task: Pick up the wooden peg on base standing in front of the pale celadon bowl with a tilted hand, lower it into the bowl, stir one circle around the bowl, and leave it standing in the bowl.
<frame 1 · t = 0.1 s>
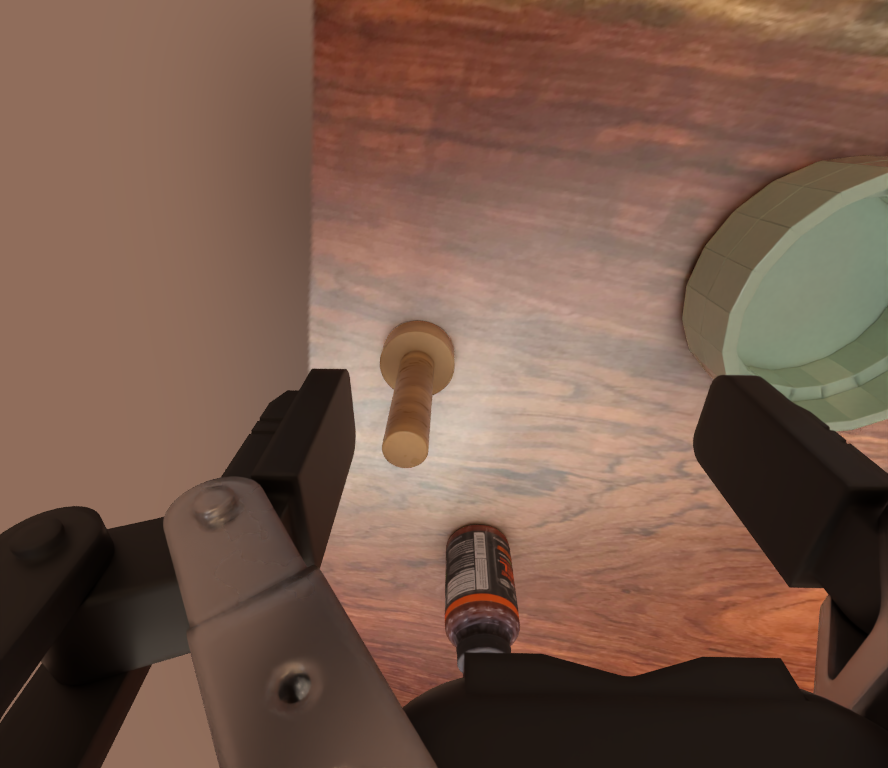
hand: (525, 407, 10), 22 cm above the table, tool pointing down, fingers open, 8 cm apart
supplement bottle: (477, 542, 44), on the table
bowl: (799, 285, 31), on the table
wooden peg on base: (418, 353, 34), on the table
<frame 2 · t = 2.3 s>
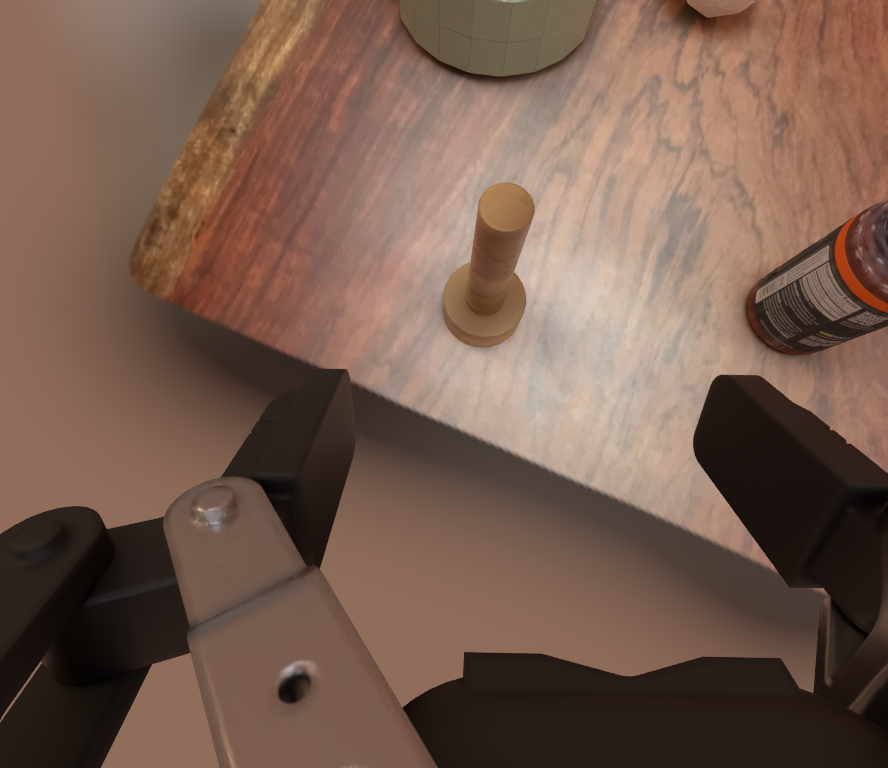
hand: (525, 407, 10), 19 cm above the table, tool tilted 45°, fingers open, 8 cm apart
geometric ball: (704, 4, 37), on the table
supplement bottle: (784, 316, 31), on the table
bowl: (495, 2, 37), on the table
wooden peg on base: (481, 309, 31), on the table
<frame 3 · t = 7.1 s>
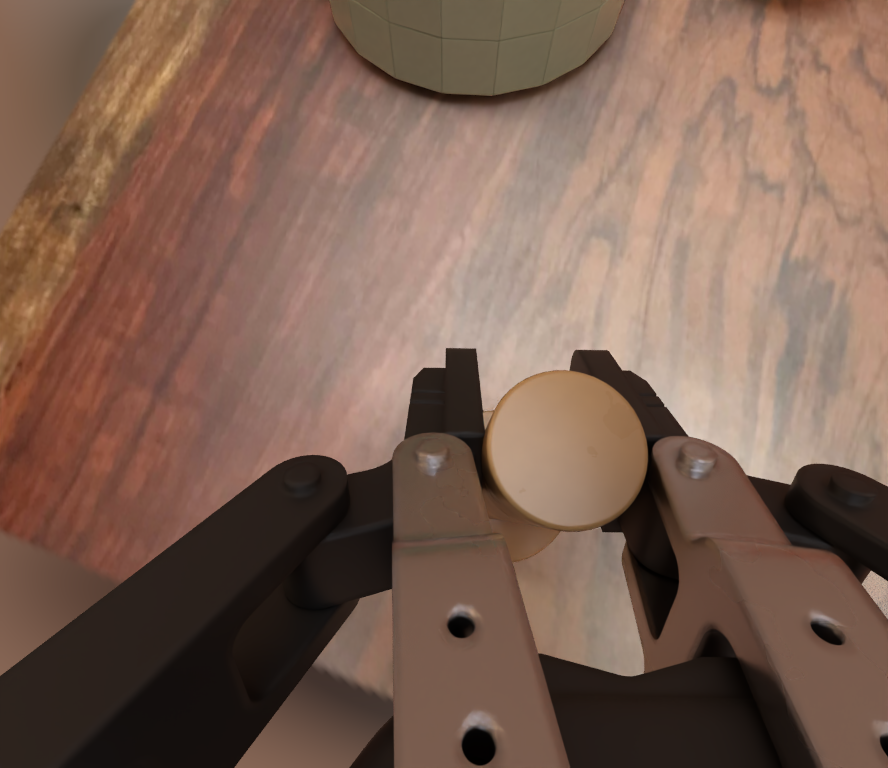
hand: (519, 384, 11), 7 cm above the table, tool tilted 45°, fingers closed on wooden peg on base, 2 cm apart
wooden peg on base: (492, 486, 18), on the table, touching gripper
when the fingers open (8 cm above the table, at t = 19.7 s): wooden peg on base stays where it is, resting on bowl.
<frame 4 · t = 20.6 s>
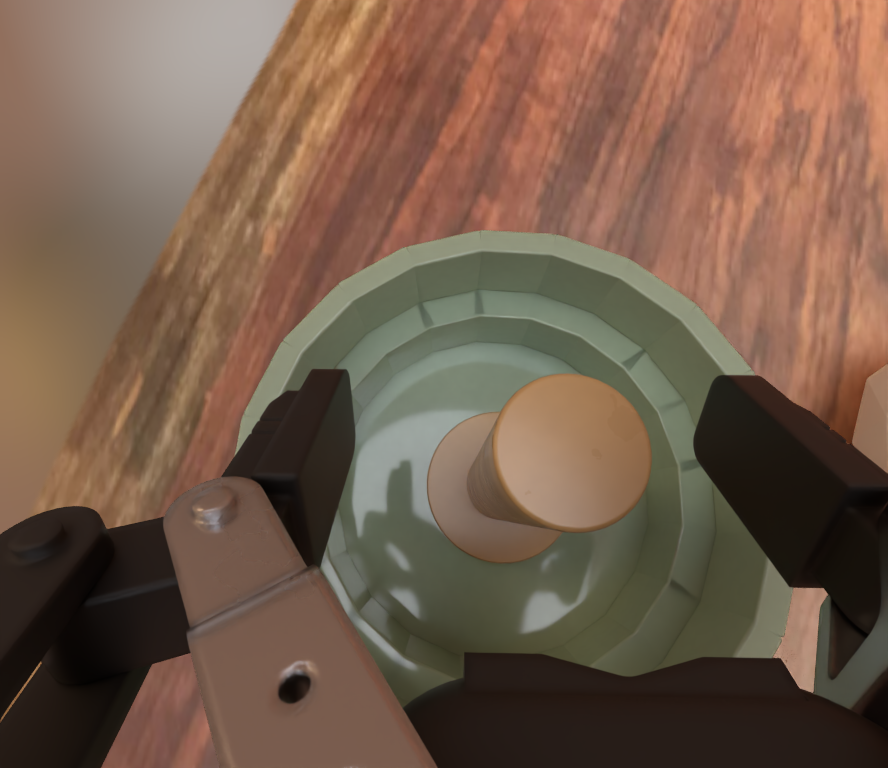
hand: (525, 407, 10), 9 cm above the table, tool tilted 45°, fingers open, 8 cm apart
bowl: (490, 487, 18), on the table
wooden peg on base: (495, 487, 18), point 1 cm above the table, touching bowl
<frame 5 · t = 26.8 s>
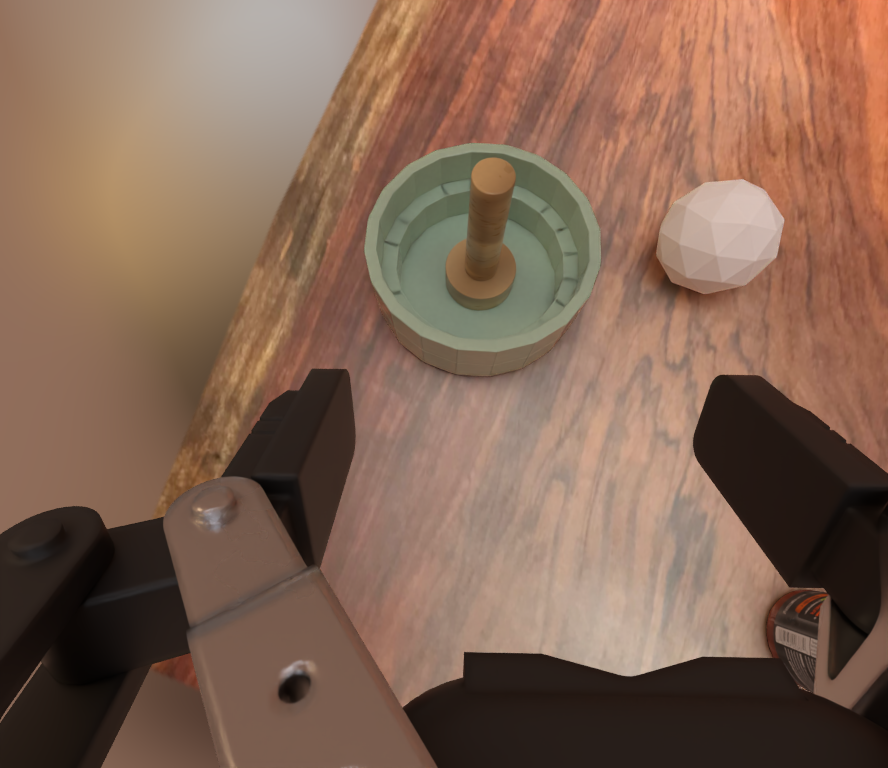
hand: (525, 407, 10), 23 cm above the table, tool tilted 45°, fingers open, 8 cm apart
geometric ball: (687, 266, 37), on the table
supplement bottle: (805, 636, 30), on the table
bowl: (477, 283, 36), on the table
wooden peg on base: (479, 279, 36), point 1 cm above the table, touching bowl
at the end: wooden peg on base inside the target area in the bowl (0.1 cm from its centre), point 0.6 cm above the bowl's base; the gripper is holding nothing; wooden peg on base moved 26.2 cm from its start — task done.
